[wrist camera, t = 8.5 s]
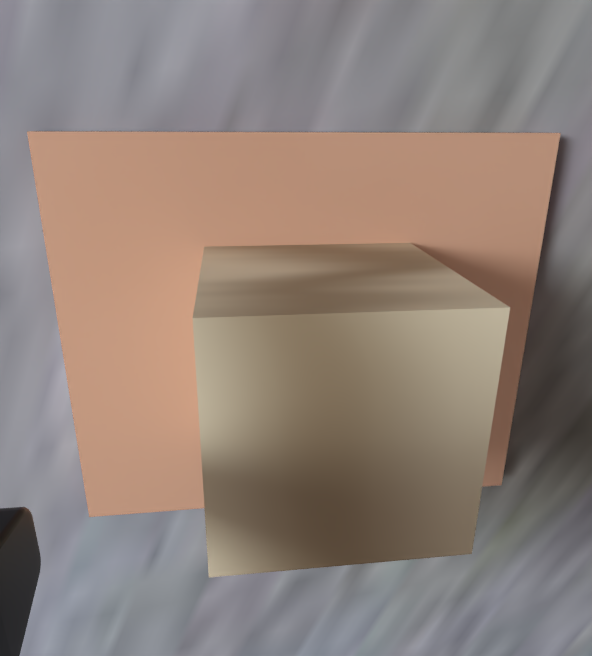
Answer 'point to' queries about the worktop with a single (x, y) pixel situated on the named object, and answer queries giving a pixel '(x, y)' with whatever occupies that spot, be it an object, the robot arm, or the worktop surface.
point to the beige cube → (341, 404)
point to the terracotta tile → (253, 230)
